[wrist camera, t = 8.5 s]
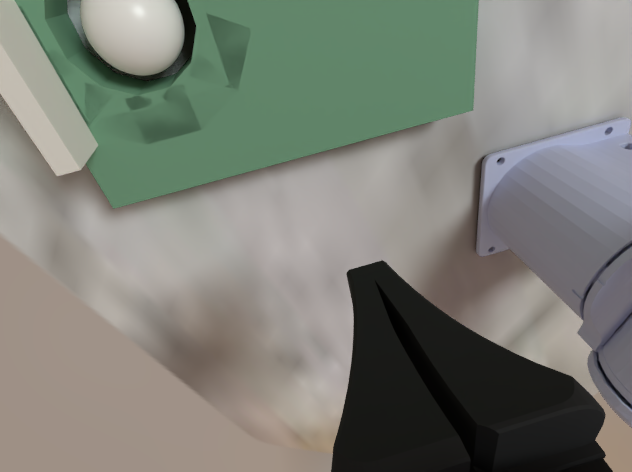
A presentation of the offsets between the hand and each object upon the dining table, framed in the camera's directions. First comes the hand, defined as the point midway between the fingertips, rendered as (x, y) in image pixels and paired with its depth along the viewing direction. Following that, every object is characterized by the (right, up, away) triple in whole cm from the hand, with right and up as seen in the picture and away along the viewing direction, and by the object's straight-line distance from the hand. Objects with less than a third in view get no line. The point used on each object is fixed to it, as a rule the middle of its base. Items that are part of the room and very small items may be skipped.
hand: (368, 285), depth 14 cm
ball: (-9, +10, +1) cm, 13 cm away
